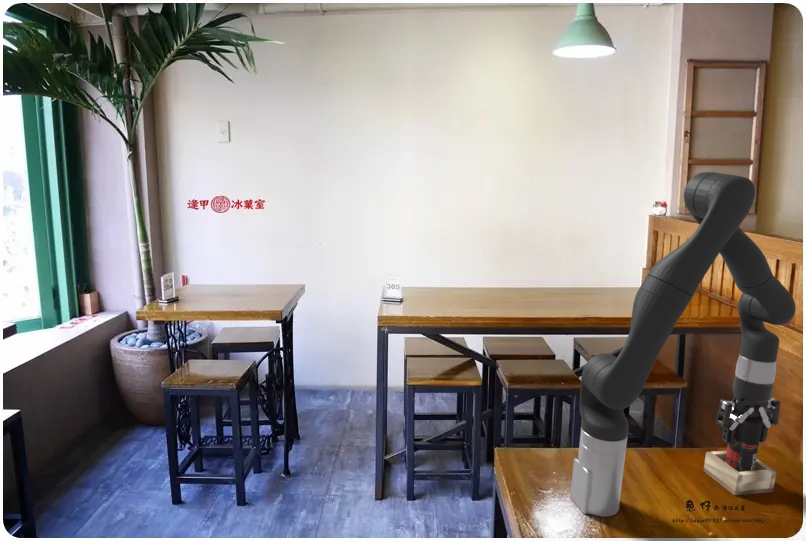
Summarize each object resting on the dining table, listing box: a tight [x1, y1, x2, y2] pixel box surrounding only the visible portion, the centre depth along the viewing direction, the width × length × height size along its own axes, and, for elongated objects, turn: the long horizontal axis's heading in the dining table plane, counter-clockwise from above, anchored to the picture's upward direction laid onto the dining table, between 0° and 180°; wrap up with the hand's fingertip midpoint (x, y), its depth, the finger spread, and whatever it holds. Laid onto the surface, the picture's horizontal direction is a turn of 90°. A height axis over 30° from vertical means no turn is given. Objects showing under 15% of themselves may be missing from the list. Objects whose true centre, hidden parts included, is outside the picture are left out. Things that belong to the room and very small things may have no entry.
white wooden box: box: [702, 450, 777, 496], centre depth 129 cm, size 10×10×5 cm
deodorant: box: [725, 413, 763, 472], centre depth 128 cm, size 6×6×15 cm
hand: (743, 441), depth 128 cm, fingers open, 8 cm apart
